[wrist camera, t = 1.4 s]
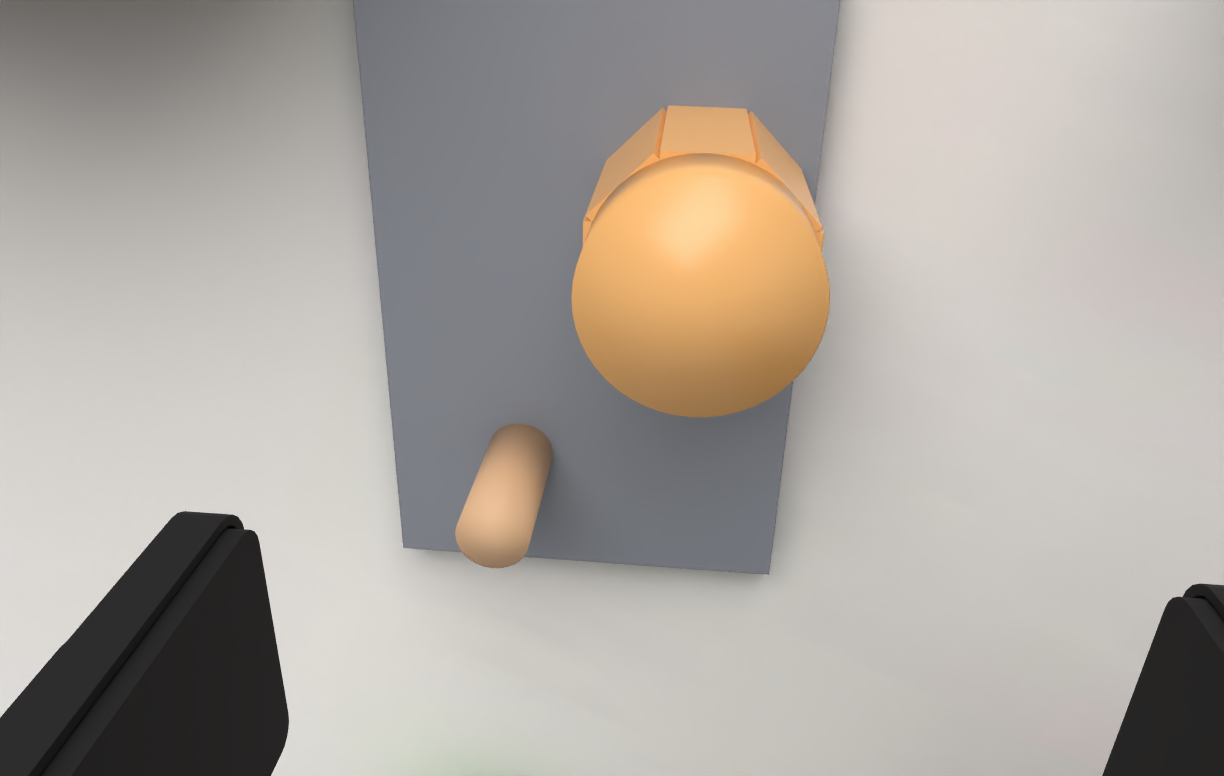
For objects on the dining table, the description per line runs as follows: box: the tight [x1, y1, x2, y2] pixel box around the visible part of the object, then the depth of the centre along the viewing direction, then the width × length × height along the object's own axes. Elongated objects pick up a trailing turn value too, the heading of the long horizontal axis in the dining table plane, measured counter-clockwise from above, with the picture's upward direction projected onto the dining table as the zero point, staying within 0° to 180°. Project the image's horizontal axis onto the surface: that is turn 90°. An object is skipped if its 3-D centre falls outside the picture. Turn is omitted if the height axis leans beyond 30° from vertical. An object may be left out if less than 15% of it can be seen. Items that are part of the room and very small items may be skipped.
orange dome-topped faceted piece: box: [571, 105, 830, 417], centre depth 22 cm, size 5×5×7 cm
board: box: [353, 0, 840, 574], centre depth 26 cm, size 12×18×6 cm, turn 179°
